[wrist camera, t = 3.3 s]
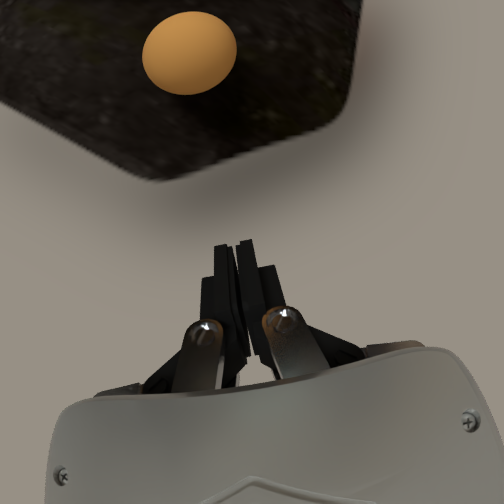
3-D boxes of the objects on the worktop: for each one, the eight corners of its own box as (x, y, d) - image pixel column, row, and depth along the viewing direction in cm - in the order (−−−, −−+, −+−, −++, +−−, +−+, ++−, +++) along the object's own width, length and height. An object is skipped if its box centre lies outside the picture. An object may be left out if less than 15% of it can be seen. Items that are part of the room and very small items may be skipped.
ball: (161, 102, 15) (142, 109, 11) (147, 34, 12) (124, 18, 8) (239, 84, 15) (248, 84, 11) (226, 16, 12) (232, -8, 8)
